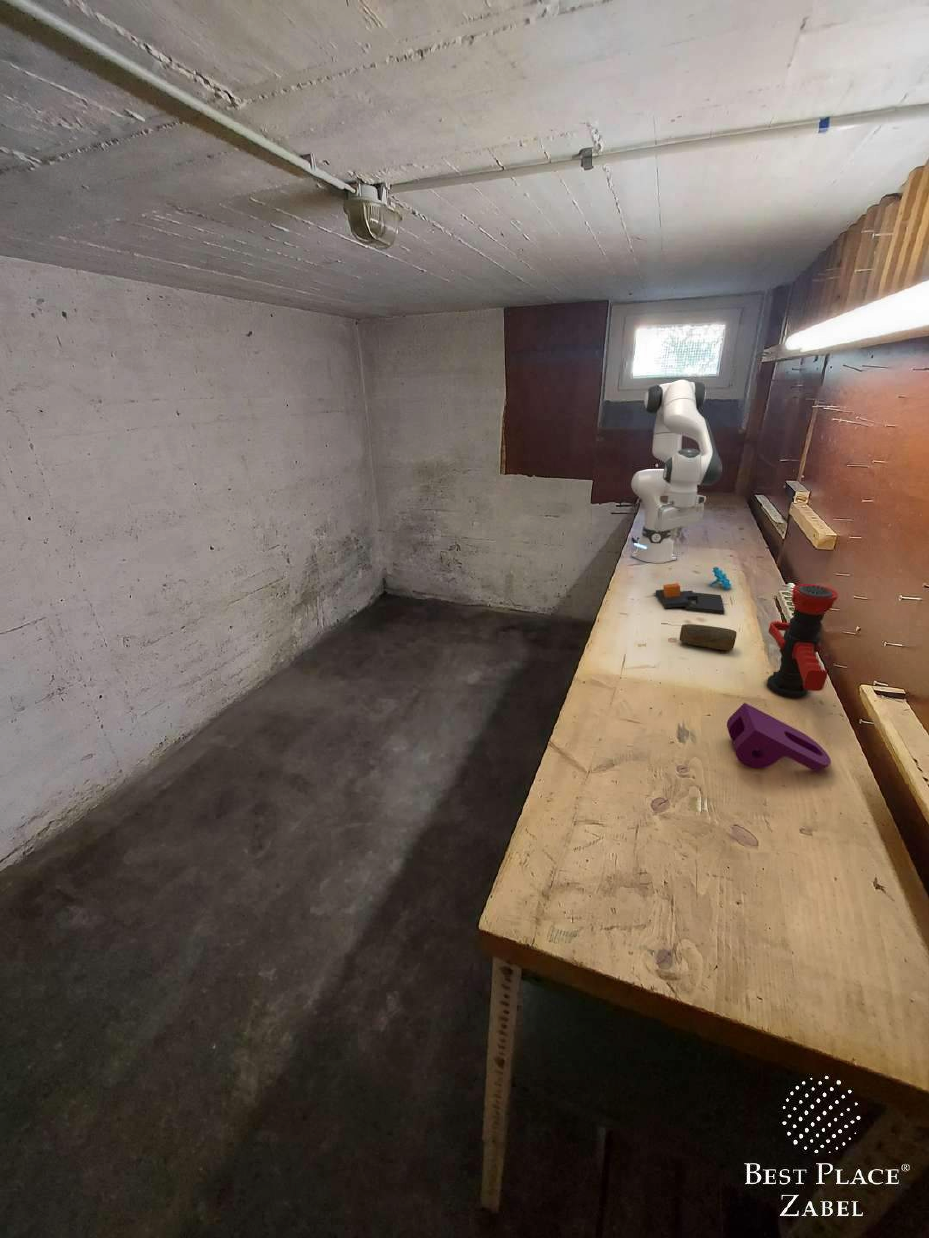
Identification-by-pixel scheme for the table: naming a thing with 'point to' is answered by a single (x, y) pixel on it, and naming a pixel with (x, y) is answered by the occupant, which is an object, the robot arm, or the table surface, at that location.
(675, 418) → the robot arm
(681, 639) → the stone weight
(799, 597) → the fire hose nozzle
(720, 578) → the gear
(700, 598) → the socket pad
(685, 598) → the pad
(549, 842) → the table surface
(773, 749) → the mounting bracket
